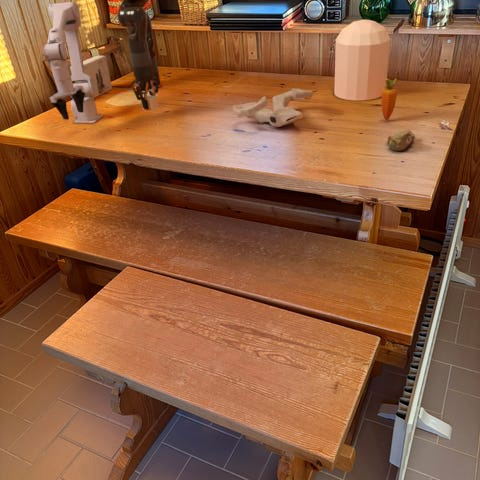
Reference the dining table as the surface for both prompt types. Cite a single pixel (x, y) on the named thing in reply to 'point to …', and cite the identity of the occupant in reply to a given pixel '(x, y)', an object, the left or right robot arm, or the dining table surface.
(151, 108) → the pale beige block
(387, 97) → the carrot
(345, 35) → the container
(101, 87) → the skincare box
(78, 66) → the left robot arm
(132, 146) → the dining table surface
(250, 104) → the animal horns
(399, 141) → the rock
